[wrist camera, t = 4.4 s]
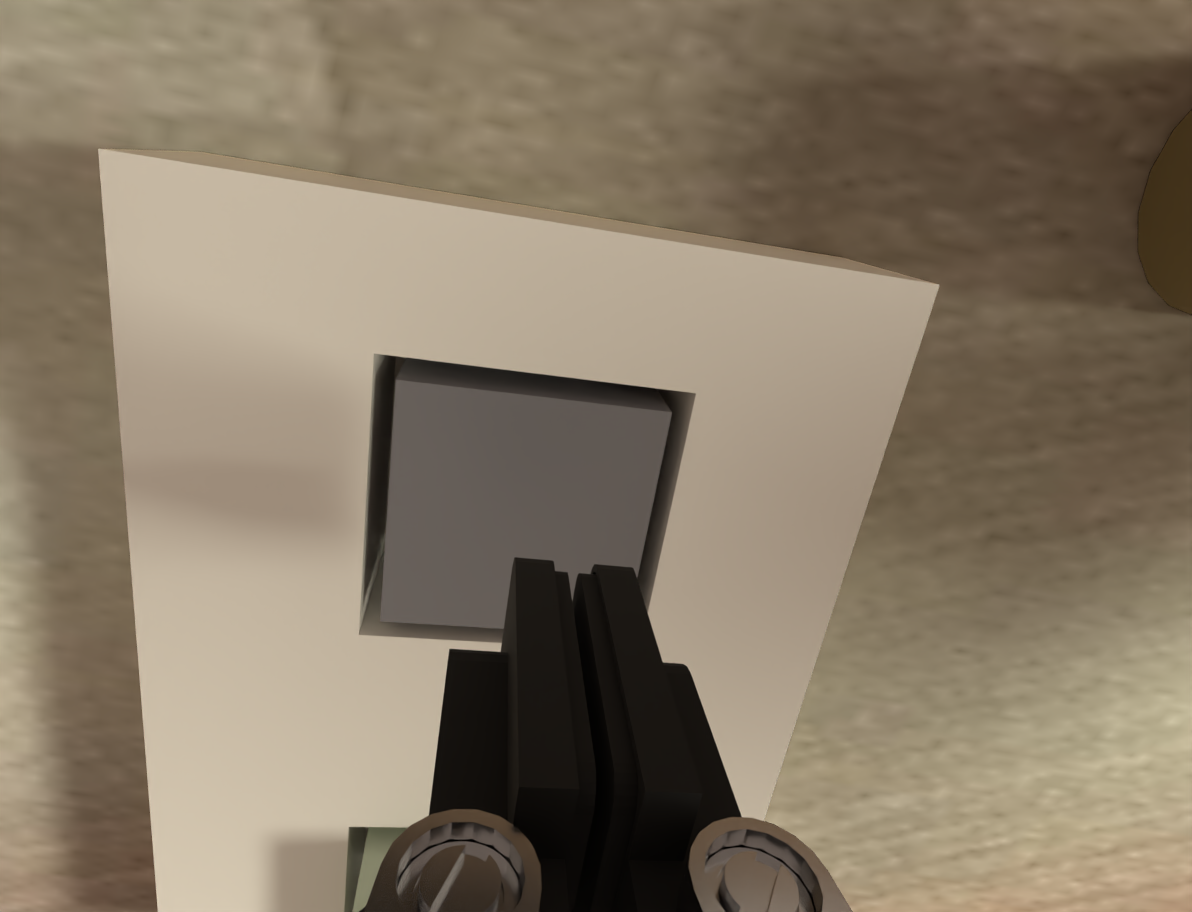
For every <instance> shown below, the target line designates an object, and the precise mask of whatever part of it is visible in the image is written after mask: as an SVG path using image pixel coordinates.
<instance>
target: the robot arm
mask: <svg viewBox="0 0 1192 912" xmlns="http://www.w3.org/2000/svg"><path fill="white" fill-rule="evenodd" d="M359 912H852V910H851V908H850V907H849V905H848V903H847V902H846V900H845V898H844V897H843V895H842V893H841V892H840V890H839V888H838V887H837V885H836V883H835V882H834V880H833V878H832V877H831V875H830V873H829V872H828V870H827V869H826V868H825V866H824V865H823V864H822V862H821V861H820V860H819V858H818V857H817V856H816V855H815V853H814V852H813V851H812V850H811V849H810V848H808V847H807V846H806V845H805V844H804V843H803V842H801V841H800V840H799V839H798V838H797V837H796V836H794V835H793V834H791V833H789V832H787V831H785V830H783V829H782V828H780V827H778V826H776V825H774V824H772V823H768V822H765V821H761V820H758V819H755V818H747V817H742V816H741V813H740V810H739V808H738V805H737V802H736V799H735V796H734V793H733V791H732V788H731V785H730V782H729V779H728V777H727V774H726V771H725V768H724V765H723V762H722V760H721V757H720V754H719V751H718V748H717V745H716V743H715V740H714V737H713V734H712V731H711V729H710V726H709V723H708V720H707V717H706V714H705V712H704V709H703V706H702V703H701V700H700V698H699V695H698V692H697V689H696V686H695V683H694V681H693V678H692V675H691V673H690V671H689V669H688V667H687V666H686V665H684V664H679V663H664V662H662V658H661V655H660V652H659V648H658V645H657V642H656V639H655V635H654V632H653V629H652V626H651V622H650V619H649V616H648V613H647V609H646V606H645V603H644V599H643V596H642V593H641V590H640V586H639V583H638V580H637V577H636V573H635V571H634V569H633V568H632V567H623V566H611V565H599V564H594V565H593V567H592V570H591V574H585V573H579V574H578V576H577V579H576V584H575V589H574V595H573V601H572V597H571V590H570V583H569V576H568V572H561V571H555V566H554V561H553V560H541V559H530V558H518V557H514V561H513V566H512V573H511V580H510V587H509V594H508V602H507V609H506V616H505V623H504V631H503V638H502V645H501V652H494V651H478V650H463V649H449V655H448V663H447V671H446V679H445V687H444V695H443V704H442V712H441V720H440V728H439V736H438V744H437V752H436V760H435V768H434V776H433V784H432V793H431V801H430V809H429V816H427V817H425V818H423V819H421V820H420V821H418V822H416V823H414V824H412V825H410V826H409V827H408V828H407V829H406V830H405V831H404V832H403V833H402V834H401V835H400V836H399V837H398V838H397V839H396V840H395V841H393V843H392V844H391V846H390V848H389V850H388V852H387V853H386V855H385V857H384V859H383V861H382V863H381V865H380V868H379V871H378V873H377V876H376V879H375V882H374V885H373V887H372V890H371V893H370V896H369V899H368V901H367V904H366V906H365V907H364V908H363V909H362V910H360V911H359Z"/></svg>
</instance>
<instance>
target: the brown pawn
mask: <svg viewBox="0 0 1192 912" xmlns="http://www.w3.org/2000/svg"><path fill="white" fill-rule="evenodd" d="M1138 253H1139V256H1140V259H1141V262H1142V265H1143V268H1144V271H1145V274H1146V277H1147V280H1148V283H1149V284H1150V285H1151V286H1152V287H1153V289H1154V290H1155V291H1156V292H1157V293H1158V294H1159V295H1160V296H1161V297H1162V299H1163V300H1164V301H1165V302H1166V303H1167V304H1168V305H1169V306H1172V307H1174V308H1176V309H1179V310H1181V311H1184V312H1186V313H1189V314H1191V315H1192V110H1191V111H1190V112H1189V113H1188V114H1187V116H1186V117H1185V118H1184V119H1183V120H1182V121H1181V122H1180V123H1179V124H1178V125H1177V127H1176V128H1175V129H1174V130H1173V132H1172V134H1171V136H1170V137H1169V139H1168V141H1167V143H1166V144H1165V146H1164V148H1163V150H1162V151H1161V153H1160V155H1159V157H1158V159H1157V160H1156V162H1155V164H1154V166H1153V167H1152V169H1151V171H1150V175H1149V178H1148V182H1147V185H1146V188H1145V192H1144V195H1143V199H1142V202H1141V206H1140V209H1139V213H1138Z"/></svg>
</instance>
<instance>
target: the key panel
mask: <svg viewBox="0 0 1192 912" xmlns="http://www.w3.org/2000/svg"><path fill="white" fill-rule="evenodd" d="M98 155H99V168H100V181H101V194H102V206H103V219H104V232H105V245H106V257H107V270H108V283H109V296H110V308H111V321H112V334H113V346H114V359H115V372H116V385H117V397H118V410H119V423H120V436H121V448H122V461H123V474H124V486H125V499H126V512H127V525H128V537H129V550H130V563H131V576H132V588H133V601H134V614H135V627H136V639H137V652H138V665H139V677H140V690H141V703H142V716H143V728H144V741H145V754H146V767H147V779H148V792H149V805H150V817H151V830H152V843H153V856H154V868H155V881H156V894H157V907H158V912H352V911H353V906H354V901H355V895H356V890H357V885H358V880H359V875H360V869H361V864H362V859H363V854H364V849H365V843H366V838H367V833H368V828H369V827H409V826H410V825H412V824H414V823H416V822H418V821H420V820H421V819H423V818H425V817H427V816H429V809H430V801H431V793H432V784H433V776H434V768H435V760H436V752H437V744H438V736H439V728H440V720H441V712H442V704H443V695H444V687H445V679H446V671H447V663H448V655H449V649H463V650H478V651H494V652H501V645H502V638H503V631H504V629H497V628H480V627H464V626H447V625H431V624H414V623H398V622H381V621H380V614H381V599H382V583H383V568H384V552H385V537H386V522H387V506H388V491H389V475H390V460H391V445H392V429H393V414H394V398H395V383H396V378H397V376H398V374H399V372H400V369H401V367H402V365H403V363H404V361H405V358H406V357H407V358H415V359H423V360H431V361H439V362H447V363H455V364H463V365H471V366H479V367H487V368H495V369H503V370H512V371H520V372H528V373H536V374H544V375H552V376H560V377H568V378H576V379H584V380H592V381H600V382H608V383H617V384H625V385H633V386H641V387H649V388H656V390H657V391H658V393H659V394H660V396H661V397H662V399H663V400H664V401H665V403H666V404H667V406H668V407H669V409H670V410H671V411H672V416H671V420H670V425H669V430H668V435H667V439H666V444H665V449H664V454H663V458H662V463H661V468H660V473H659V477H658V482H657V487H656V492H655V496H654V501H653V506H652V511H651V515H650V520H649V525H648V530H647V534H646V539H645V544H644V549H643V553H642V558H641V563H640V568H639V572H638V577H637V580H638V583H639V586H640V590H641V593H642V596H643V599H644V603H645V606H646V609H647V613H648V616H649V619H650V622H651V626H652V629H653V632H654V635H655V639H656V642H657V645H658V648H659V652H660V655H661V658H662V662H664V663H679V664H684V665H686V666H687V667H688V669H689V671H690V673H691V675H692V678H693V681H694V683H695V686H696V689H697V692H698V695H699V698H700V700H701V703H702V706H703V709H704V712H705V714H706V717H707V720H708V723H709V726H710V729H711V731H712V734H713V737H714V740H715V743H716V745H717V748H718V751H719V754H720V757H721V760H722V762H723V765H724V768H725V771H726V774H727V777H728V779H729V782H730V785H731V788H732V791H733V793H734V796H735V799H736V802H737V805H738V808H739V810H740V813H741V816H742V817H747V818H755V819H758V820H761V821H764V819H765V816H766V813H767V810H768V807H769V804H770V801H771V798H772V795H773V791H774V788H775V785H776V782H777V779H778V776H779V773H780V770H781V767H782V764H783V761H784V758H785V755H786V752H787V749H788V746H789V743H790V740H791V737H792V734H793V731H794V728H795V724H796V721H797V718H798V715H799V712H800V709H801V706H802V703H803V700H804V697H805V694H806V691H807V688H808V685H809V682H810V679H811V676H812V673H813V670H814V667H815V664H816V660H817V657H818V654H819V651H820V648H821V645H822V642H823V639H824V636H825V633H826V630H827V627H828V624H829V621H830V618H831V615H832V612H833V609H834V606H835V603H836V600H837V597H838V593H839V590H840V587H841V584H842V581H843V578H844V575H845V572H846V569H847V566H848V563H849V560H850V557H851V554H852V551H853V548H854V545H855V542H856V539H857V536H858V533H859V530H860V526H861V523H862V520H863V517H864V514H865V511H866V508H867V505H868V502H869V499H870V496H871V493H872V490H873V487H874V484H875V481H876V478H877V475H878V472H879V469H880V466H881V462H882V459H883V456H884V453H885V450H886V447H887V444H888V441H889V438H890V435H891V432H892V429H893V426H894V423H895V420H896V417H897V414H898V411H899V408H900V405H901V402H902V399H903V395H904V392H905V389H906V386H907V383H908V380H909V377H910V374H911V371H912V368H913V365H914V362H915V359H916V356H917V353H918V350H919V347H920V344H921V341H922V338H923V335H924V332H925V328H926V325H927V322H928V319H929V316H930V313H931V310H932V307H933V304H934V301H935V298H936V295H937V292H938V289H939V286H940V285H939V284H936V283H932V282H929V281H925V280H922V279H918V278H914V277H911V276H907V275H904V274H900V273H897V272H893V271H889V270H886V269H882V268H879V267H875V266H872V265H868V264H864V263H861V262H857V261H854V260H850V259H847V258H843V257H837V256H831V255H825V254H818V253H812V252H806V251H800V250H794V249H788V248H782V247H776V246H770V245H764V244H758V243H752V242H746V241H740V240H734V239H727V238H721V237H715V236H709V235H703V234H697V233H691V232H685V231H679V230H673V229H667V228H661V227H655V226H649V225H643V224H637V223H630V222H624V221H618V220H612V219H606V218H600V217H594V216H588V215H582V214H576V213H570V212H564V211H558V210H552V209H546V208H539V207H533V206H527V205H521V204H515V203H509V202H503V201H497V200H491V199H485V198H479V197H473V196H467V195H461V194H455V193H448V192H442V191H436V190H430V189H424V188H418V187H412V186H406V185H400V184H394V183H388V182H382V181H376V180H370V179H364V178H357V177H351V176H345V175H339V174H333V173H327V172H321V171H315V170H309V169H303V168H297V167H291V166H285V165H279V164H273V163H266V162H260V161H254V160H248V159H242V158H236V157H230V156H224V155H218V154H212V153H206V152H200V151H167V150H134V149H100V148H98Z"/></svg>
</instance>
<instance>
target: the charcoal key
mask: <svg viewBox="0 0 1192 912" xmlns="http://www.w3.org/2000/svg"><path fill="white" fill-rule="evenodd" d="M671 416H672V411H671V410H670V409H669V407H668V406H667V404H666V403H665V401H664V400H663V399H662V397H661V396H660V394H659V393H658V391H657V390H656V388H649V387H641V386H633V385H625V384H617V383H608V382H600V381H592V380H584V379H576V378H568V377H560V376H552V375H544V374H536V373H528V372H520V371H512V370H503V369H495V368H487V367H479V366H471V365H463V364H455V363H447V362H439V361H431V360H423V359H415V358H407V357H406V358H405V361H404V363H403V365H402V367H401V369H400V372H399V374H398V376H397V378H396V383H395V398H394V414H393V429H392V445H391V460H390V475H389V491H388V506H387V522H386V537H385V552H384V568H383V583H382V599H381V614H380V621H381V622H398V623H414V624H431V625H447V626H464V627H480V628H497V629H504V623H505V616H506V609H507V602H508V594H509V587H510V580H511V573H512V566H513V561H514V557H518V558H530V559H541V560H553V561H554V566H555V571H561V572H568V576H569V583H570V590H571V597H572V601H573V595H574V589H575V584H576V579H577V576H578V574H579V573H585V574H591V570H592V567H593V565H594V564H599V565H611V566H623V567H632V568H633V569H634V571H635V573H636V577H638V572H639V568H640V563H641V558H642V553H643V549H644V544H645V539H646V534H647V530H648V525H649V520H650V515H651V511H652V506H653V501H654V496H655V492H656V487H657V482H658V477H659V473H660V468H661V463H662V458H663V454H664V449H665V444H666V439H667V435H668V430H669V425H670V420H671Z"/></svg>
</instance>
